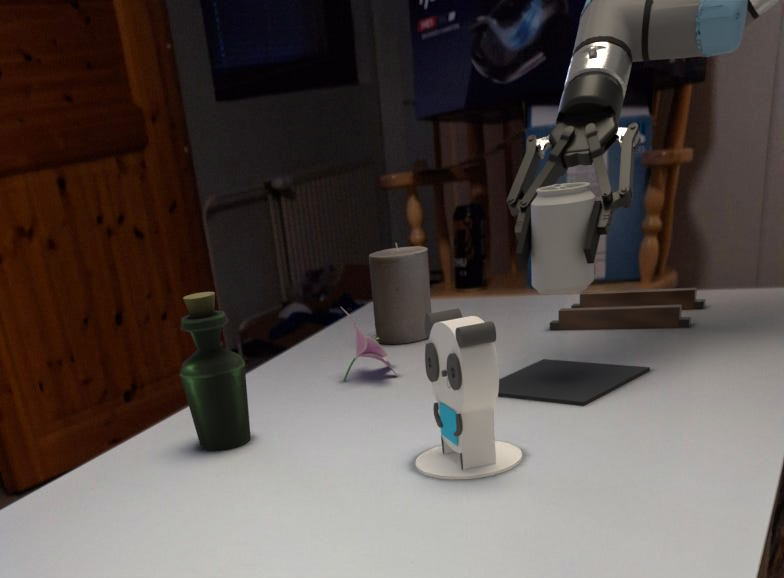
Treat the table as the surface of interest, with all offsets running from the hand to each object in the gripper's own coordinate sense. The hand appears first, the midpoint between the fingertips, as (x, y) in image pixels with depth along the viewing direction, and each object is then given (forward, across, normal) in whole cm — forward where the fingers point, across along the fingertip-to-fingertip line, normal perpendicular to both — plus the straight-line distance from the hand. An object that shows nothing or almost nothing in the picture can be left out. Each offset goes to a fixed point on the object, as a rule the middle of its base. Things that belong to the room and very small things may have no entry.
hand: (554, 258), depth 112 cm
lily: (+8, -29, +15) cm, 33 cm away
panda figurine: (+30, -1, -8) cm, 31 cm away
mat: (+9, 0, +13) cm, 16 cm away
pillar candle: (-9, -34, +32) cm, 47 cm away
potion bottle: (+29, -35, -6) cm, 46 cm away
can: (+1, 0, +6) cm, 6 cm away
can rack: (-16, 0, +38) cm, 42 cm away
